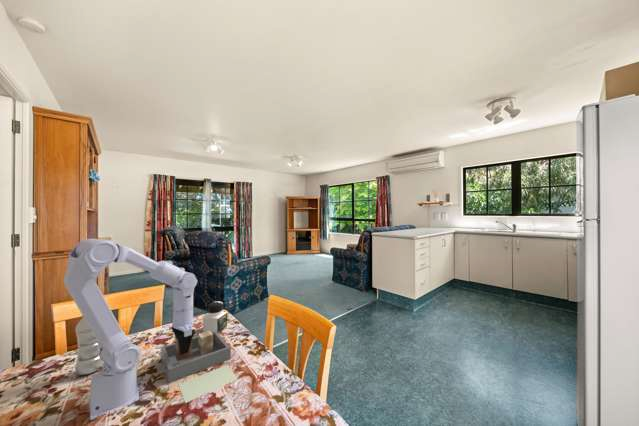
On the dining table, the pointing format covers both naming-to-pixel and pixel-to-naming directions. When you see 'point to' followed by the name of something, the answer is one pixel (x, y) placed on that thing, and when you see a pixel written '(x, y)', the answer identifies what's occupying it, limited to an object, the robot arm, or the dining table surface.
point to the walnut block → (177, 351)
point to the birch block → (205, 342)
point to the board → (206, 383)
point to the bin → (194, 358)
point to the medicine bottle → (215, 318)
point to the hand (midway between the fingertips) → (182, 350)
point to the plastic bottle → (87, 350)
